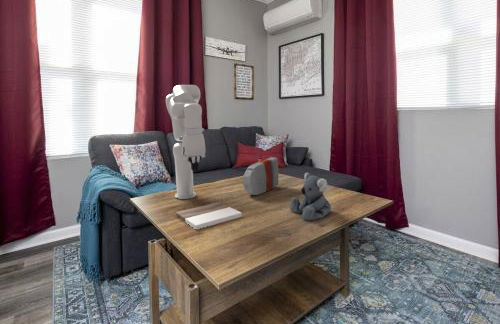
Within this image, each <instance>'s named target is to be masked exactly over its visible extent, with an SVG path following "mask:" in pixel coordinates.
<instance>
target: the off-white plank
mask: <svg viewBox="0 0 500 324" xmlns="http://www.w3.org/2000/svg"><path fill="white" fill-rule="evenodd" d="M242 213H243V212H241V211H239V210H237V209H235V208H233V207H230V206H228V208H224V209H220V210H216V211H213V212H209V213H205V214H201V215H197V216H193V217H189V218H185V222H186V223H187V224H186V223H185V222H184V223H185V224H186V225H188V224H189V225H190V226H189V225H188V226H189V227H191V228H192V227H193V228H192V229H194V230H195V229H197V230H200V228H201V229H204V228H207V226H208V227H211V226H214V225H218V224H220V223H224V222H228V221H231V220H235V219H238V218H242V217H243V216H242ZM203 227H204V228H203Z"/></svg>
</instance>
